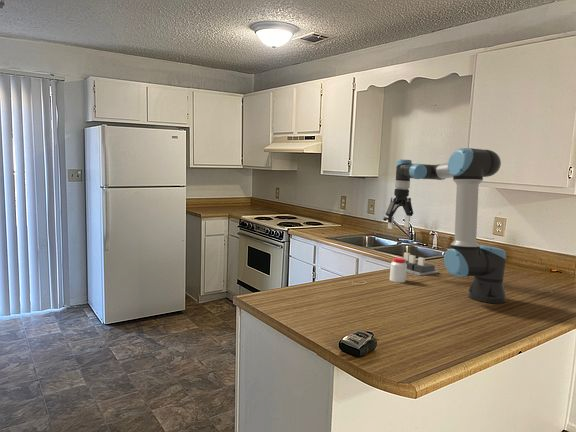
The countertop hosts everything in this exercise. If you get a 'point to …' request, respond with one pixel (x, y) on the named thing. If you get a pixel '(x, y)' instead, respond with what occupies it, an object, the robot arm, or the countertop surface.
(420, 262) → the handle far
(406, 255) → the handle
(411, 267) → the panel
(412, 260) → the handle mid
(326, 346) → the countertop surface
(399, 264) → the pill bottle
